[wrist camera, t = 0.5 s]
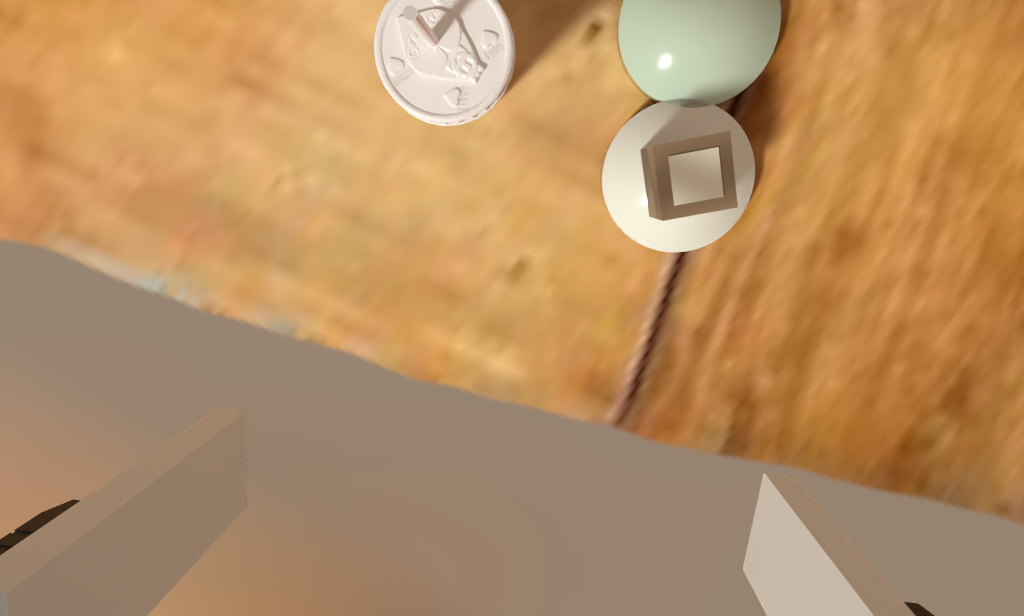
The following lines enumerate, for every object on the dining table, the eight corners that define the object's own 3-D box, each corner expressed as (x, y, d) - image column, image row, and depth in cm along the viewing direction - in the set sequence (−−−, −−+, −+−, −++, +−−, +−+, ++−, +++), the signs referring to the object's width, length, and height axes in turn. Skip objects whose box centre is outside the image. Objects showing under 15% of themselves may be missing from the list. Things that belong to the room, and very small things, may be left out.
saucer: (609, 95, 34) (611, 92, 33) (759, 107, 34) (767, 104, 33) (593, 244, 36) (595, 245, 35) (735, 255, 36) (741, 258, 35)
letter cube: (640, 150, 34) (653, 145, 30) (708, 136, 33) (730, 130, 29) (649, 216, 35) (663, 220, 31) (715, 204, 34) (738, 207, 30)
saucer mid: (626, -61, 32) (629, -70, 31) (785, -51, 32) (794, -60, 31) (608, 104, 34) (610, 101, 33) (758, 115, 34) (765, 113, 33)
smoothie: (454, 6, 34) (393, -114, 20) (543, 69, 34) (543, -7, 21) (399, 101, 35) (307, 49, 21) (485, 160, 36) (449, 146, 22)
